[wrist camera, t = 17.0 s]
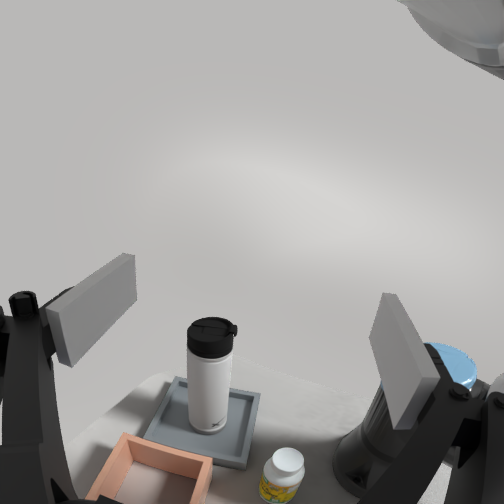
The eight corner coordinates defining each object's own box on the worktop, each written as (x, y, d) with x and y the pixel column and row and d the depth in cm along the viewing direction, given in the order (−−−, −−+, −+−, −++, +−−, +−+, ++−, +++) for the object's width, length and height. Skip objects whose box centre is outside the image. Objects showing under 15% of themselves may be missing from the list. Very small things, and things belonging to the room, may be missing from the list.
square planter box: (212, 477, 37) (212, 457, 35) (190, 549, 25) (187, 538, 23) (130, 453, 38) (123, 432, 36) (97, 516, 26) (84, 499, 24)
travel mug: (225, 439, 44) (234, 342, 37) (184, 431, 44) (180, 333, 37) (230, 412, 49) (240, 316, 43) (193, 405, 50) (193, 309, 43)
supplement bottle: (302, 493, 35) (318, 461, 32) (273, 511, 32) (286, 483, 29) (278, 471, 39) (290, 437, 36) (250, 487, 36) (257, 455, 33)
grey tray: (259, 401, 54) (260, 393, 53) (245, 470, 39) (246, 463, 38) (175, 384, 55) (175, 376, 55) (144, 445, 40) (142, 438, 40)
